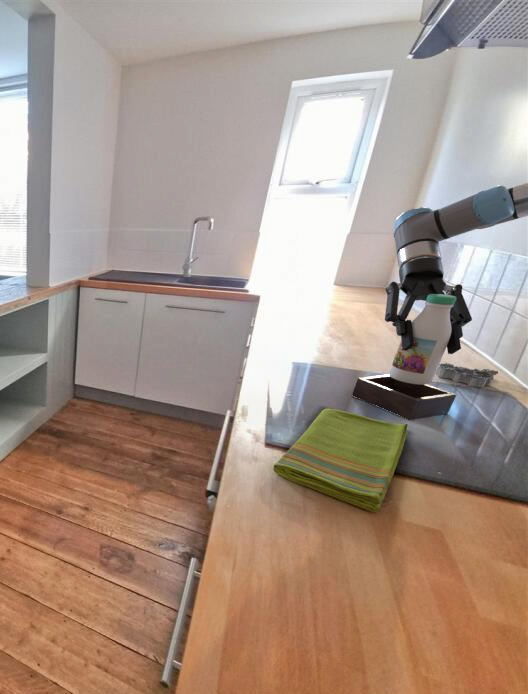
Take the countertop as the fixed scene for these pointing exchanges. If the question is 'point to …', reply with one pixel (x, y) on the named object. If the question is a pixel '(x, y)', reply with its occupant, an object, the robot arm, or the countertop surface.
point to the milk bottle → (425, 342)
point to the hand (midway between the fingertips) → (431, 349)
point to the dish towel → (346, 457)
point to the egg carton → (466, 375)
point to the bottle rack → (404, 397)
